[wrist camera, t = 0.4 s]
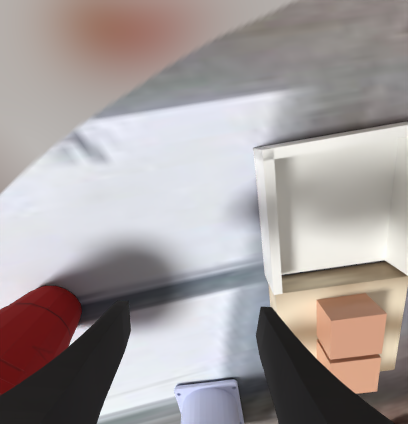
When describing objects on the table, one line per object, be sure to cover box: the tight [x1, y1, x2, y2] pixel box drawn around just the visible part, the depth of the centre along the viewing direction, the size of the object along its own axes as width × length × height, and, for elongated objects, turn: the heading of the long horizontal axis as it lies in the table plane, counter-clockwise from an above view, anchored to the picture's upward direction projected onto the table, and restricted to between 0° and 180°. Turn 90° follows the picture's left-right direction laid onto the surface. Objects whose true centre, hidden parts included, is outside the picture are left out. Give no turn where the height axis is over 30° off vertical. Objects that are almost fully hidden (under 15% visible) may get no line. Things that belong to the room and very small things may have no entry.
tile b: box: [316, 293, 387, 360], centre depth 20 cm, size 4×4×2 cm
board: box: [269, 261, 408, 371], centre depth 23 cm, size 12×12×2 cm
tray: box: [253, 121, 408, 295], centre depth 19 cm, size 13×13×3 cm
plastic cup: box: [0, 286, 82, 395], centre depth 18 cm, size 11×11×12 cm
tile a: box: [317, 339, 381, 394], centre depth 21 cm, size 4×4×2 cm
